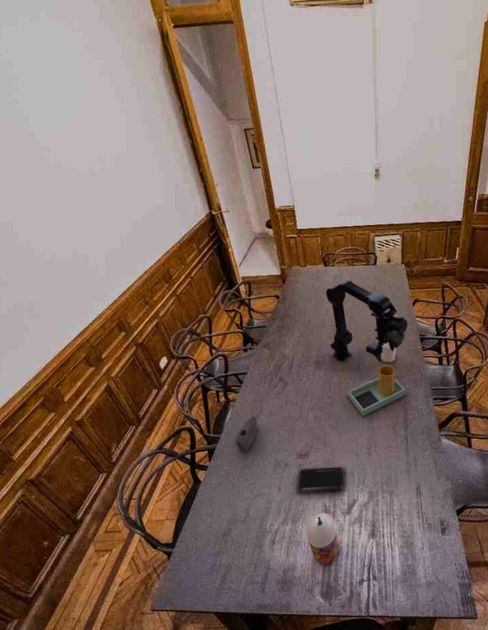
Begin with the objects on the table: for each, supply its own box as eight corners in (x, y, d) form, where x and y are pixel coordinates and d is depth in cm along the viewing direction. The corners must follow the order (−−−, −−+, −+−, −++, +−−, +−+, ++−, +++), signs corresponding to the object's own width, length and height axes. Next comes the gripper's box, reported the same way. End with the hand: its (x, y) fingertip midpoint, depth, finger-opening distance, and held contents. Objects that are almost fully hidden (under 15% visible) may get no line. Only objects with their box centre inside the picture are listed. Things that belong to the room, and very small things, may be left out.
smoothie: (323, 530, 104) (317, 495, 93) (345, 547, 100) (341, 513, 88) (305, 556, 98) (295, 522, 87) (328, 576, 94) (321, 542, 83)
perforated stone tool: (250, 422, 139) (246, 410, 135) (262, 423, 138) (259, 412, 134) (234, 455, 126) (230, 443, 123) (248, 456, 126) (244, 445, 122)
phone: (342, 489, 113) (297, 490, 113) (342, 490, 114) (298, 492, 114) (342, 466, 120) (300, 468, 120) (343, 468, 120) (300, 470, 120)
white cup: (395, 364, 164) (395, 348, 159) (378, 362, 166) (378, 346, 160) (396, 353, 170) (397, 338, 165) (381, 352, 172) (381, 336, 166)
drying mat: (363, 410, 141) (363, 410, 141) (354, 398, 147) (353, 397, 147) (379, 402, 144) (379, 402, 144) (369, 390, 150) (369, 390, 150)
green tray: (363, 416, 139) (362, 410, 137) (348, 397, 148) (347, 391, 146) (405, 395, 148) (405, 389, 146) (388, 378, 157) (388, 372, 155)
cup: (375, 392, 149) (375, 371, 142) (384, 382, 153) (384, 362, 147) (388, 399, 146) (388, 378, 139) (397, 389, 150) (398, 369, 143)
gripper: (385, 342, 130) (388, 374, 137) (412, 320, 141) (413, 350, 149) (363, 334, 136) (367, 365, 144) (390, 313, 148) (392, 343, 156)
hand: (386, 356), depth 148 cm, fingers open, 9 cm apart
